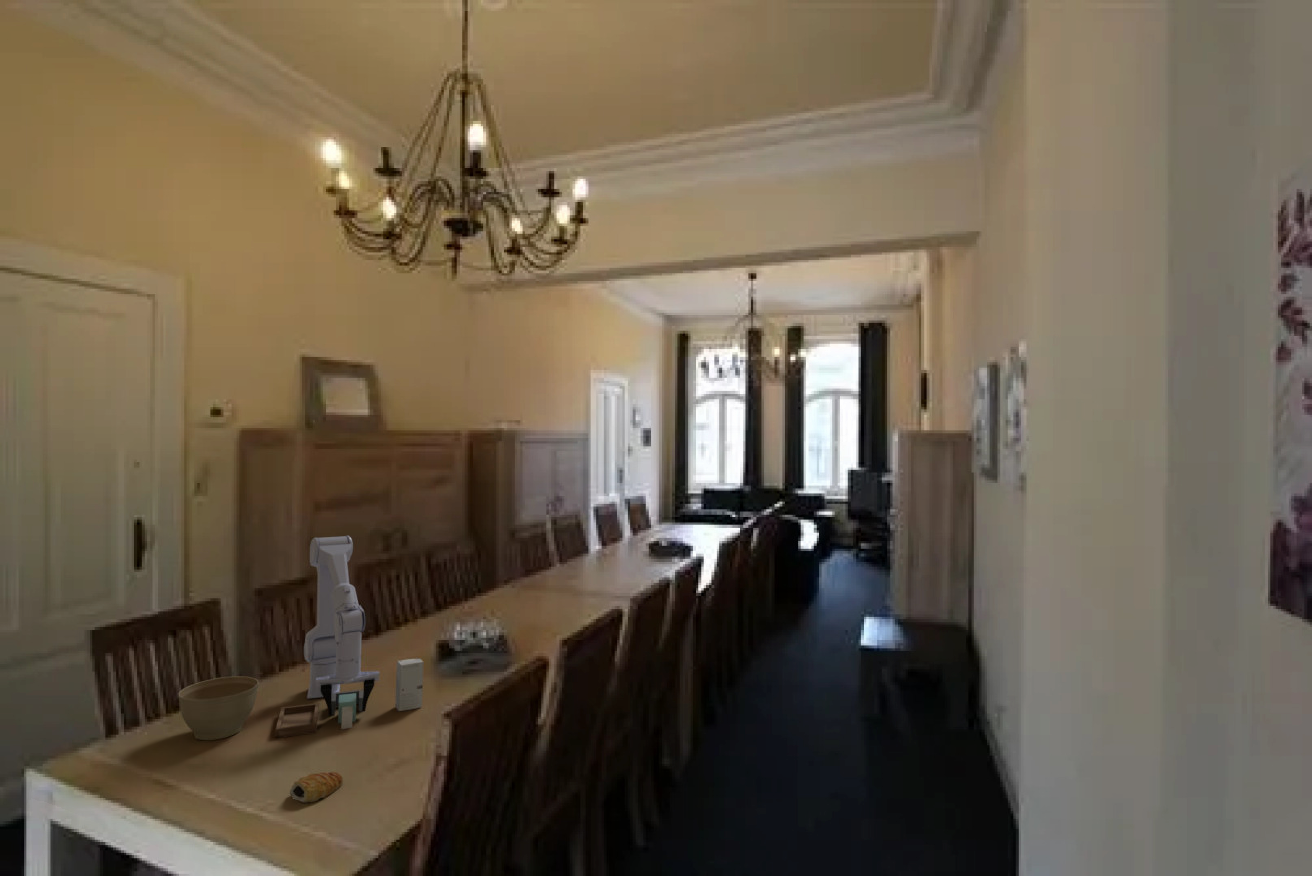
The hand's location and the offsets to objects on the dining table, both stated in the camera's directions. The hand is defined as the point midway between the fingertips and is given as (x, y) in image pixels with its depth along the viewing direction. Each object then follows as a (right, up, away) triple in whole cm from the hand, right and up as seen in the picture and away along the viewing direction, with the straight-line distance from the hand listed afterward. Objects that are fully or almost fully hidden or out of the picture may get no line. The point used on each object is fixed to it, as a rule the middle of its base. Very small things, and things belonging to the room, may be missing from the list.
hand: (347, 712), depth 172 cm
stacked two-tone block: (0, -2, -1) cm, 2 cm away
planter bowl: (-27, -1, -9) cm, 28 cm away
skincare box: (+12, -2, +9) cm, 15 cm away
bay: (-3, -2, +7) cm, 8 cm away
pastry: (+10, -2, -36) cm, 38 cm away
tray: (-11, -2, -3) cm, 11 cm away
